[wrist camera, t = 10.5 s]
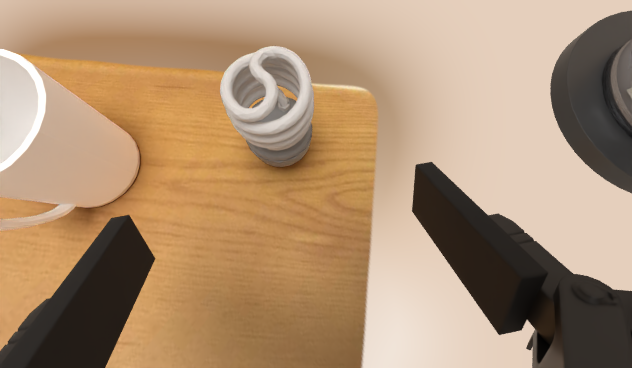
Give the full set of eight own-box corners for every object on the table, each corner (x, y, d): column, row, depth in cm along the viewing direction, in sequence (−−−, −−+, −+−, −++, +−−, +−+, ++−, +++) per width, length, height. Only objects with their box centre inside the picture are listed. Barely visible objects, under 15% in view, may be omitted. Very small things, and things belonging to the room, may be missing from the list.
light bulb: (260, 118, 28) (222, 22, 16) (317, 126, 28) (321, 35, 16) (248, 173, 27) (198, 112, 15) (308, 182, 26) (305, 128, 15)
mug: (57, 121, 27) (-90, 48, 17) (151, 120, 28) (58, 46, 18) (35, 237, 25) (-152, 230, 15) (138, 235, 25) (21, 226, 15)
